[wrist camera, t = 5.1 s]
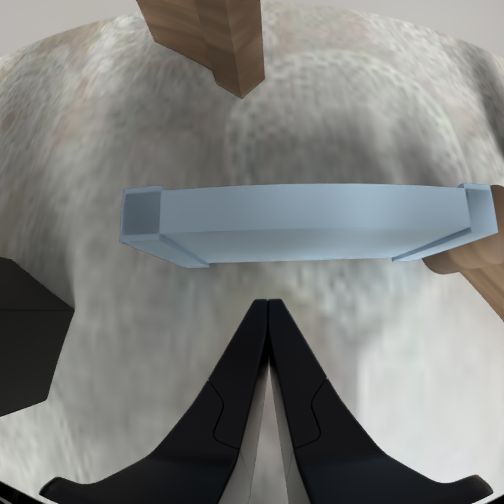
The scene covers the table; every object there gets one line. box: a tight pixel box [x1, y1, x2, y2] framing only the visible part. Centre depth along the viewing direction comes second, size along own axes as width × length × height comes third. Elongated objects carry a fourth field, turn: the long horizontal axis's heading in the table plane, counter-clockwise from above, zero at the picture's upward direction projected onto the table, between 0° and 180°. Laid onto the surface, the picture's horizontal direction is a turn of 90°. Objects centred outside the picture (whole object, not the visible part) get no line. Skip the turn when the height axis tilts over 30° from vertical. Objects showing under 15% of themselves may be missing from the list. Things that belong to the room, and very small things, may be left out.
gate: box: [119, 183, 498, 268], centre depth 13 cm, size 13×2×8 cm, turn 91°
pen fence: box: [136, 0, 504, 321], centre depth 14 cm, size 14×40×9 cm, turn 49°
